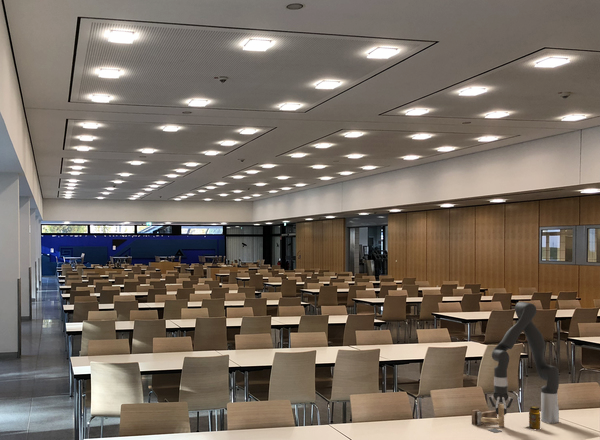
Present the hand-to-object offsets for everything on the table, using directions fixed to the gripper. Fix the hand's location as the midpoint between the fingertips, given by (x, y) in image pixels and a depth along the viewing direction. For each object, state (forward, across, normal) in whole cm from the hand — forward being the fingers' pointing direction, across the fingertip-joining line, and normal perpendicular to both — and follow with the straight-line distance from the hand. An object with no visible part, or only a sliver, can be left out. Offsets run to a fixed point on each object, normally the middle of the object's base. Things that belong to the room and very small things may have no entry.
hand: (501, 414), depth 365 cm
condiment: (+8, -18, -3) cm, 20 cm away
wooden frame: (+6, +6, 0) cm, 9 cm away
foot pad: (+7, +4, +10) cm, 12 cm away
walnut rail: (+7, +9, -6) cm, 13 cm away
